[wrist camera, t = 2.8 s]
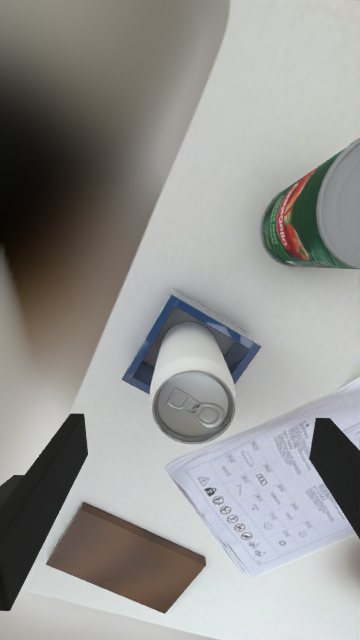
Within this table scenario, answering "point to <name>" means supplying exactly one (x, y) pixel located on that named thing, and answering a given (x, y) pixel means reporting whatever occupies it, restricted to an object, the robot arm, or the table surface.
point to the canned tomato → (318, 216)
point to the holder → (242, 348)
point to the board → (125, 559)
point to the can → (192, 386)
